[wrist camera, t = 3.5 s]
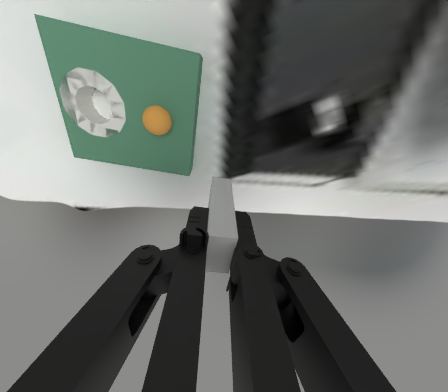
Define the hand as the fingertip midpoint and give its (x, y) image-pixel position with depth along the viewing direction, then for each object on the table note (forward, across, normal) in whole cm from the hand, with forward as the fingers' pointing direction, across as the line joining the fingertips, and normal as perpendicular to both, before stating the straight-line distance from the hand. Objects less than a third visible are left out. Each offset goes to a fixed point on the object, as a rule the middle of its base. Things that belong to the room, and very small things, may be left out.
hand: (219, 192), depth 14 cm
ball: (+15, -10, +2) cm, 18 cm away
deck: (+21, -14, +2) cm, 25 cm away
